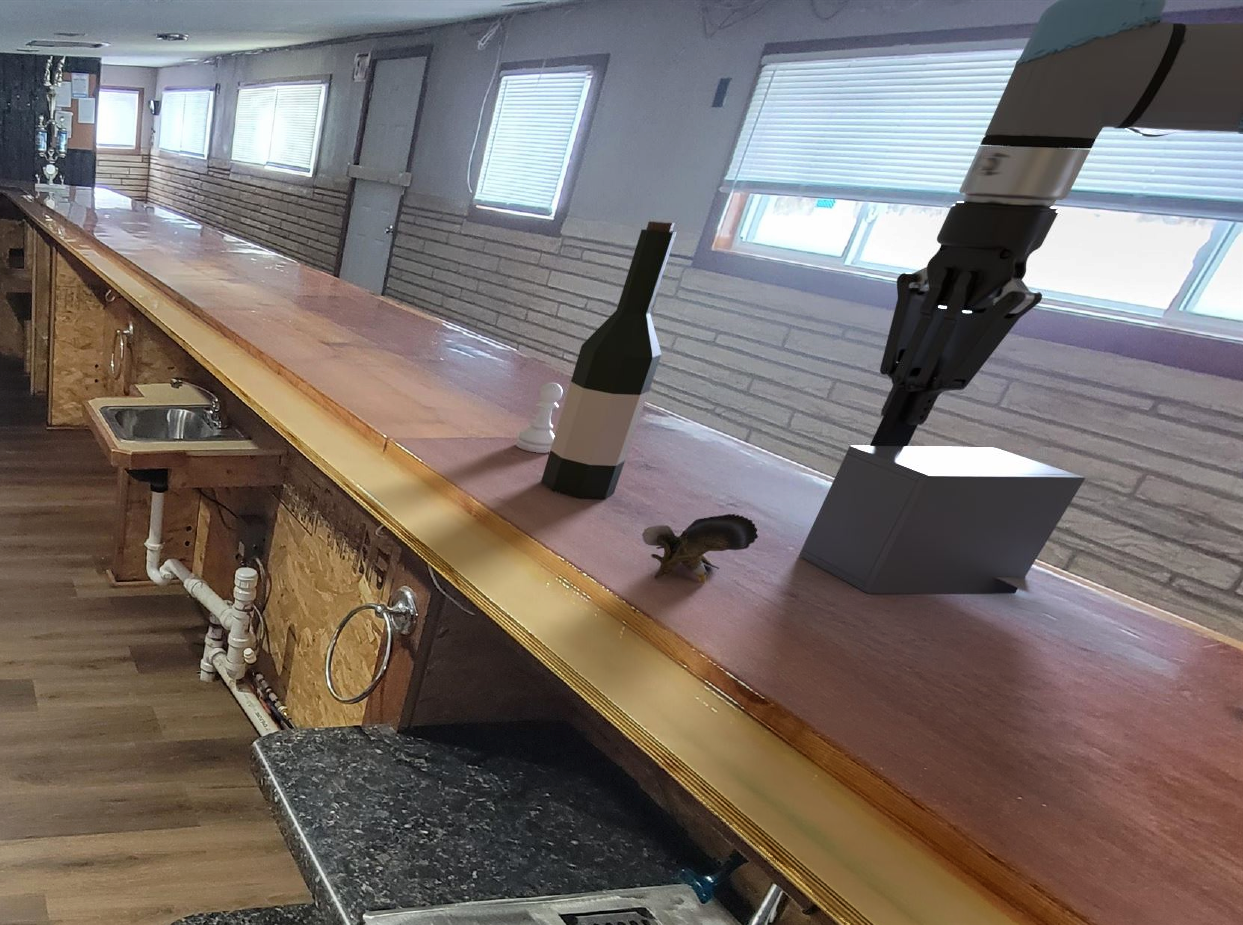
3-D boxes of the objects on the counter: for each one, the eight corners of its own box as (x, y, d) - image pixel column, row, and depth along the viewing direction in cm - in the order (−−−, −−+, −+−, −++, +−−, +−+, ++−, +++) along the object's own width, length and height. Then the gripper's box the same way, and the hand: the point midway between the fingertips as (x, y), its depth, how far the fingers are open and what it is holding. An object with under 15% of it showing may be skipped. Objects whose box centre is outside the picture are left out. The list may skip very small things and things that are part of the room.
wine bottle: (541, 492, 110) (622, 221, 95) (540, 472, 117) (615, 217, 102) (616, 504, 108) (712, 227, 93) (610, 483, 114) (699, 222, 99)
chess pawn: (538, 455, 123) (557, 389, 119) (507, 445, 127) (525, 380, 123) (562, 451, 126) (581, 385, 121) (531, 441, 129) (549, 377, 125)
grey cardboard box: (934, 556, 97) (994, 447, 91) (1015, 593, 90) (1086, 477, 84) (798, 555, 96) (849, 445, 90) (867, 593, 88) (929, 475, 82)
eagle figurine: (718, 591, 84) (772, 557, 88) (693, 520, 84) (748, 489, 87) (641, 601, 91) (694, 569, 95) (617, 536, 91) (671, 506, 94)
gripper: (908, 194, 88) (804, 433, 100) (1040, 205, 77) (906, 472, 89) (978, 197, 89) (867, 434, 100) (1119, 208, 77) (975, 472, 89)
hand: (885, 451), depth 94 cm, fingers closed
